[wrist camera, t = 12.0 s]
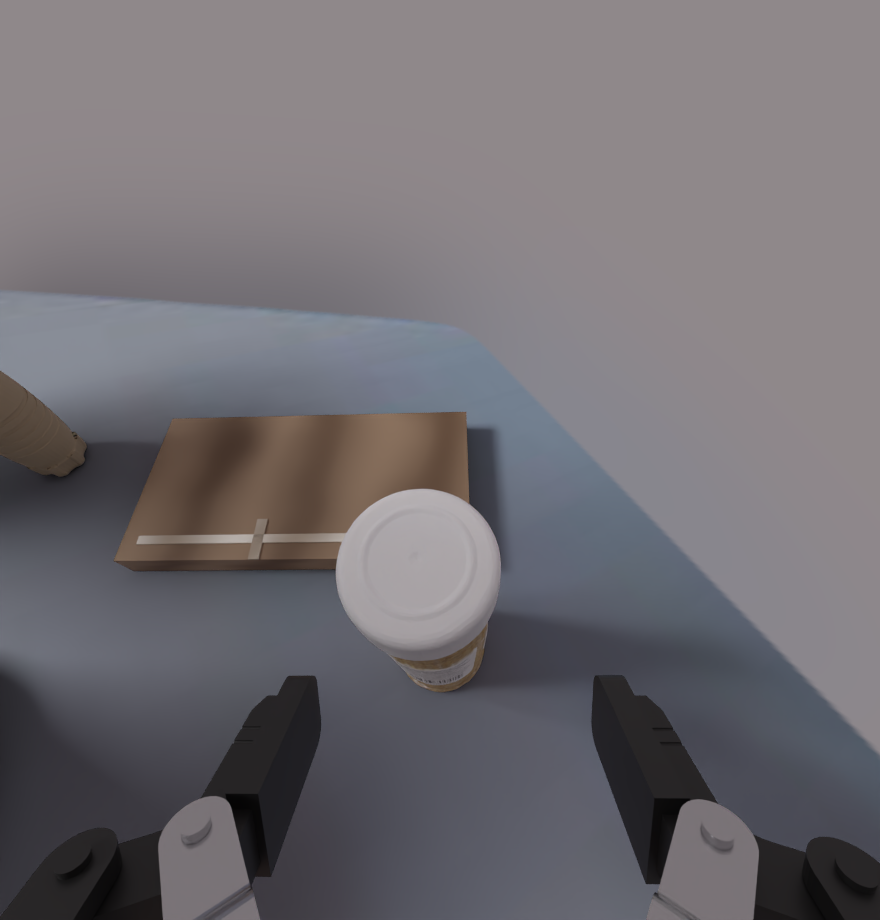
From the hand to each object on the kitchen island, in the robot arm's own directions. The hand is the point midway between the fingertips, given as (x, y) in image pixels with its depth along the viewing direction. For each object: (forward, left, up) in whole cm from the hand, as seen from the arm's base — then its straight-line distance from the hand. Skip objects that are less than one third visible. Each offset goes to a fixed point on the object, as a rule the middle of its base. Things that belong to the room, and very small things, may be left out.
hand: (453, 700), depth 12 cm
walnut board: (-9, +12, -10) cm, 18 cm away
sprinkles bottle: (-1, +3, -11) cm, 11 cm away
